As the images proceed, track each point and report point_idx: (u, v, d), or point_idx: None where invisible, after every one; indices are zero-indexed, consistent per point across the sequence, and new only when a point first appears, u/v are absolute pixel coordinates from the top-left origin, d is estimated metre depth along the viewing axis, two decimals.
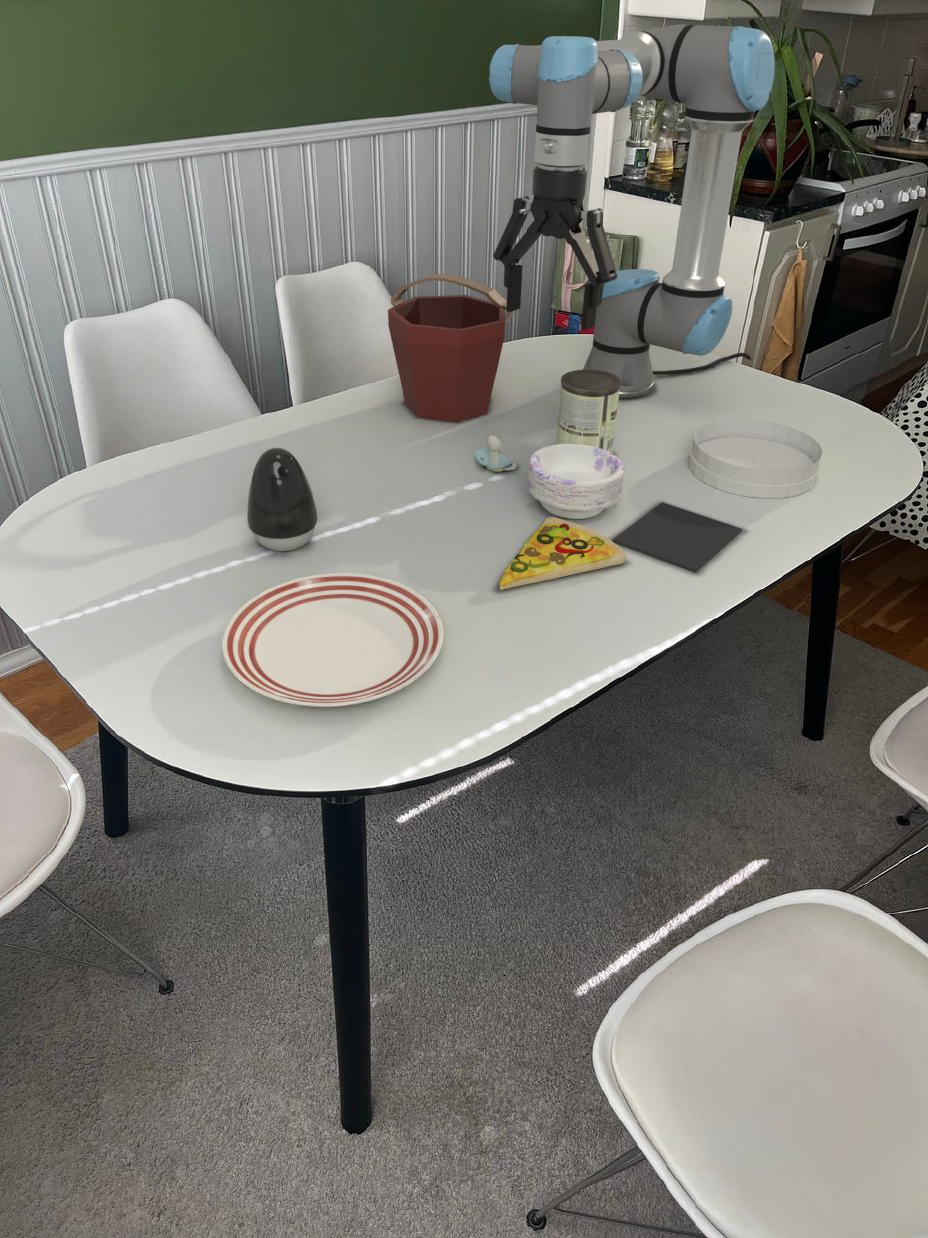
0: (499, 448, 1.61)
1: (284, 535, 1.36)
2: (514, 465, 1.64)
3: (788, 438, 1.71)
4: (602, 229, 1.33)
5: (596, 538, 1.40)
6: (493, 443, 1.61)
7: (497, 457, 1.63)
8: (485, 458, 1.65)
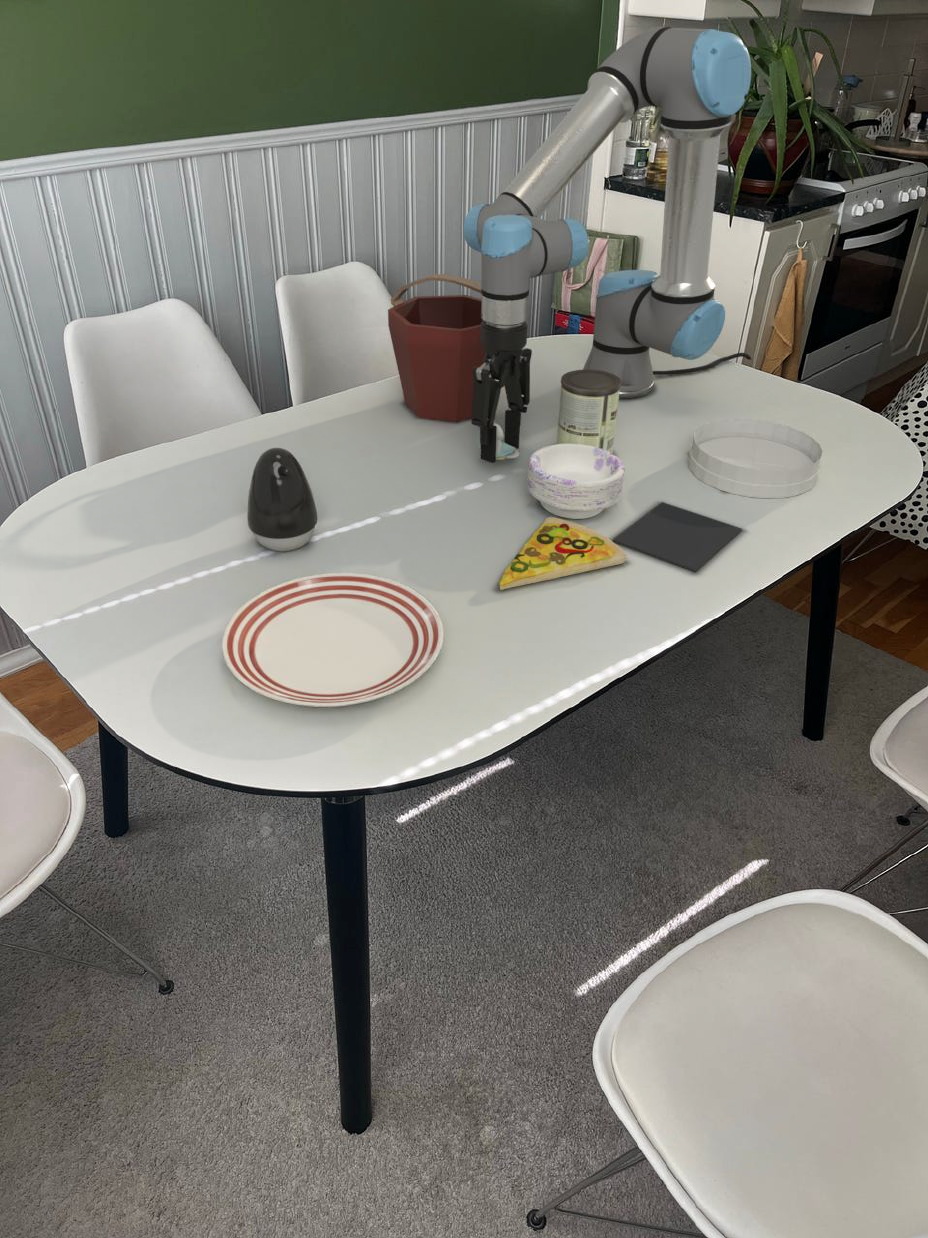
0: (501, 436, 1.60)
1: (284, 535, 1.36)
2: (517, 453, 1.63)
3: (788, 438, 1.71)
4: (483, 386, 1.51)
5: (596, 538, 1.40)
6: None
7: (499, 445, 1.62)
8: None
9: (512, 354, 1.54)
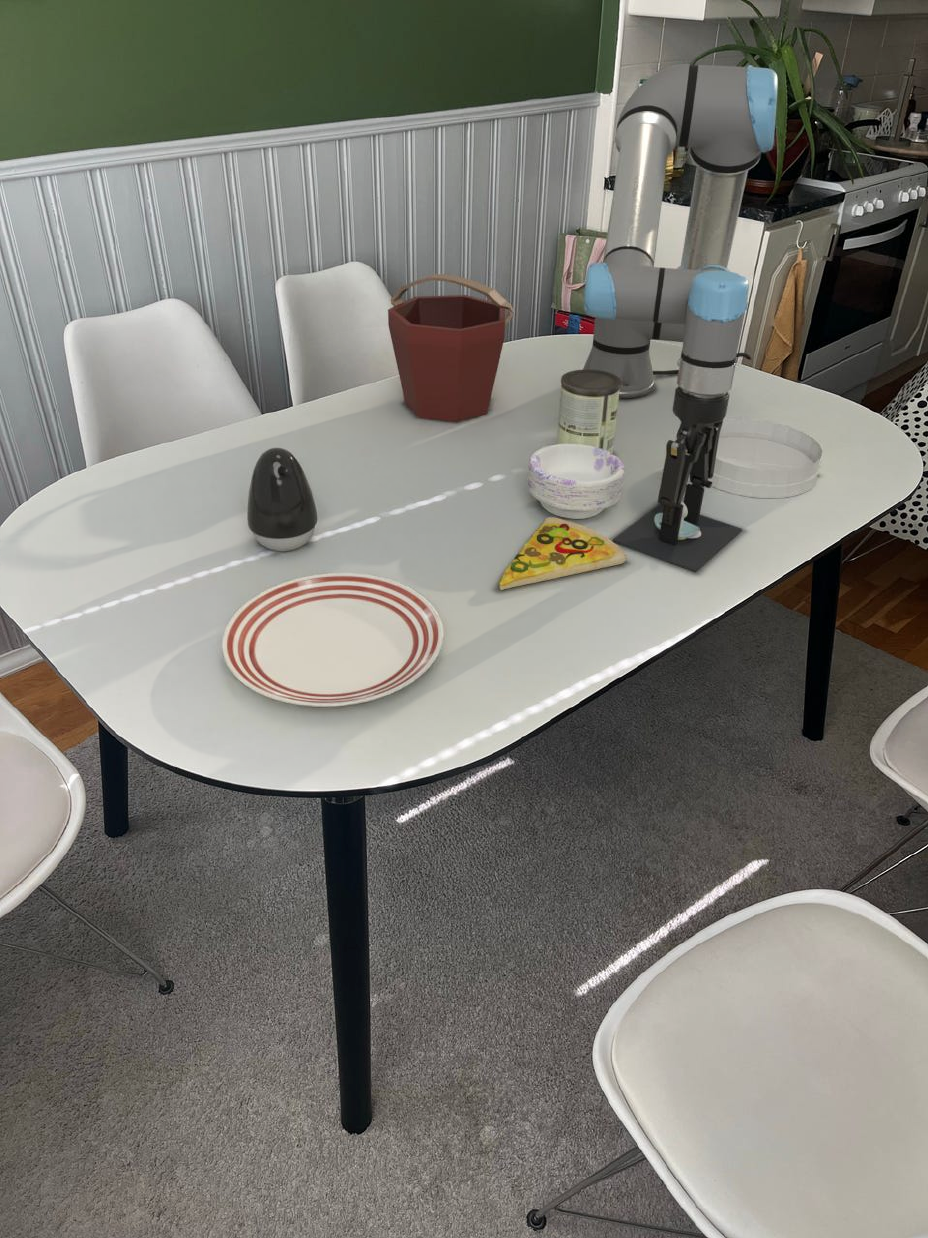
0: (685, 514, 1.42)
1: (284, 535, 1.36)
2: (699, 532, 1.45)
3: (788, 438, 1.71)
4: (677, 462, 1.33)
5: (596, 538, 1.40)
6: None
7: (681, 524, 1.43)
8: None
9: (706, 425, 1.36)
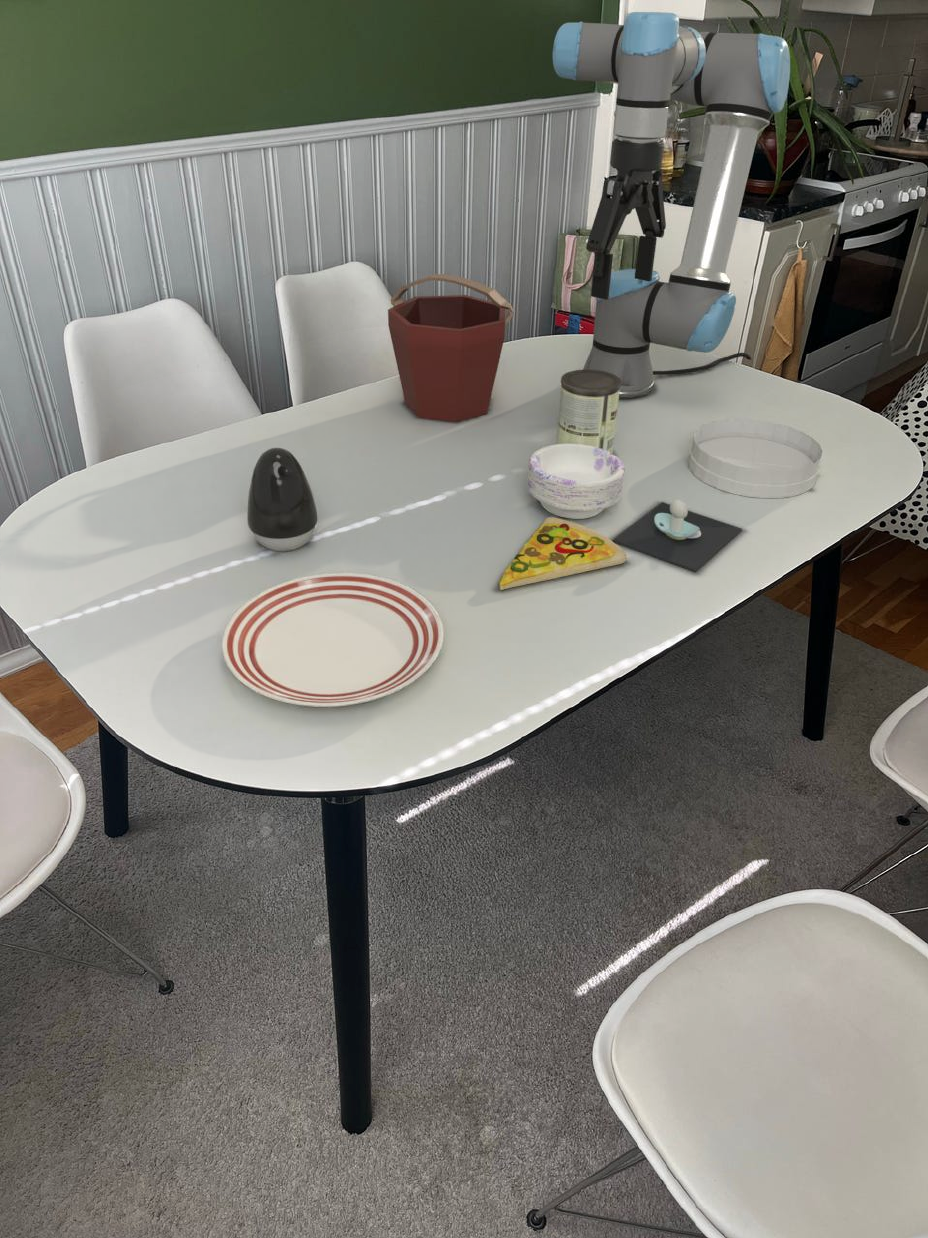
0: (685, 514, 1.42)
1: (284, 535, 1.36)
2: (699, 532, 1.45)
3: (788, 438, 1.71)
4: (612, 201, 1.36)
5: (596, 538, 1.40)
6: (679, 509, 1.41)
7: (681, 524, 1.43)
8: (664, 524, 1.46)
9: (643, 179, 1.40)
